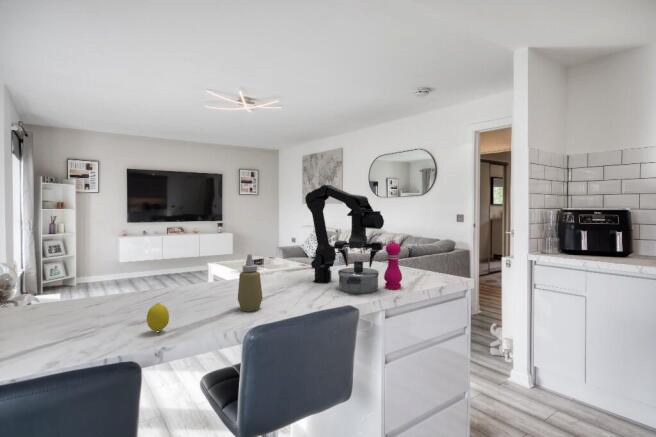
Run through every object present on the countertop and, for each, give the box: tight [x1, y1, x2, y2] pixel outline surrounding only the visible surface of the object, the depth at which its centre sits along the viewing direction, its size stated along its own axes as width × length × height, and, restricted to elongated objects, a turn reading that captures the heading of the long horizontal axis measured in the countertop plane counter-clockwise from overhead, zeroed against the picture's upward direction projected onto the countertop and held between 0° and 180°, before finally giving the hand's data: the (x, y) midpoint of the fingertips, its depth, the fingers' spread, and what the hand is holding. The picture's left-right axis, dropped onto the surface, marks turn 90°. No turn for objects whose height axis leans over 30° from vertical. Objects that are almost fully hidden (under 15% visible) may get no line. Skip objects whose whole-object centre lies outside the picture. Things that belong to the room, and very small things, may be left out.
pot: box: [338, 275, 379, 295], centre depth 149 cm, size 15×21×6 cm
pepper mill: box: [383, 238, 403, 291], centre depth 151 cm, size 7×7×20 cm
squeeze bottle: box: [237, 254, 263, 312], centre depth 122 cm, size 8×8×18 cm
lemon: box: [146, 302, 170, 332], centre depth 101 cm, size 6×6×8 cm
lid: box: [337, 260, 380, 279], centre depth 149 cm, size 16×16×6 cm
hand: (358, 266), depth 149 cm, fingers open, 9 cm apart
